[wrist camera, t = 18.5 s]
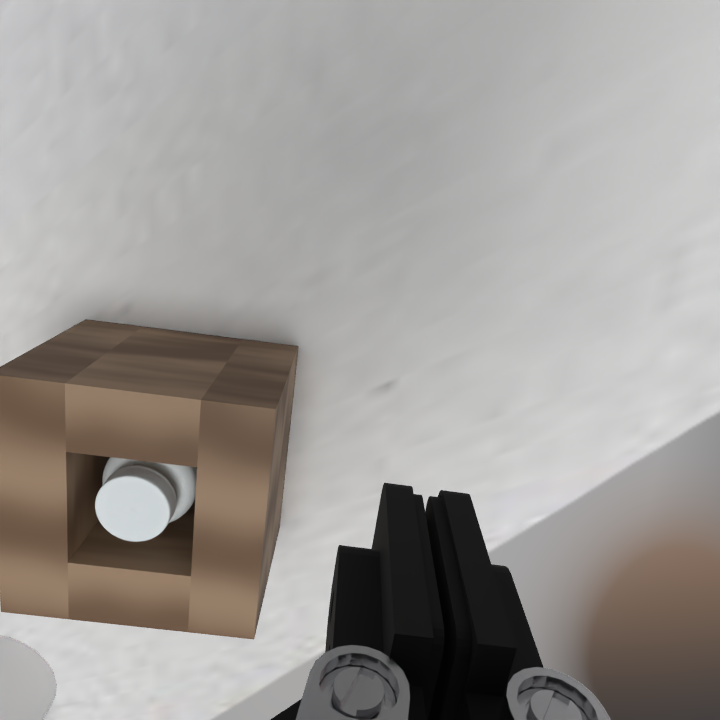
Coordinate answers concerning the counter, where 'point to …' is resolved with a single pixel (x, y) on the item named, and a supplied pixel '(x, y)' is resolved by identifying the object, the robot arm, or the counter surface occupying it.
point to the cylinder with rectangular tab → (24, 682)
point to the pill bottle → (143, 497)
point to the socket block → (152, 444)
